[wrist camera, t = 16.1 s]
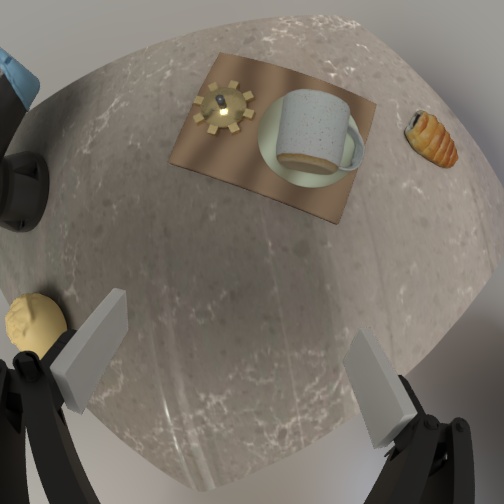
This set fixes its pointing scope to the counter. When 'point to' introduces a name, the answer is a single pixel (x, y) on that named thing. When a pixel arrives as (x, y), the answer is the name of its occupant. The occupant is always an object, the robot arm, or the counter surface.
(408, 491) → the robot arm
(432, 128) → the pastry
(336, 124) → the ceramic mug
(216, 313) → the counter surface
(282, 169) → the gear board
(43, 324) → the sculpture
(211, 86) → the gear
